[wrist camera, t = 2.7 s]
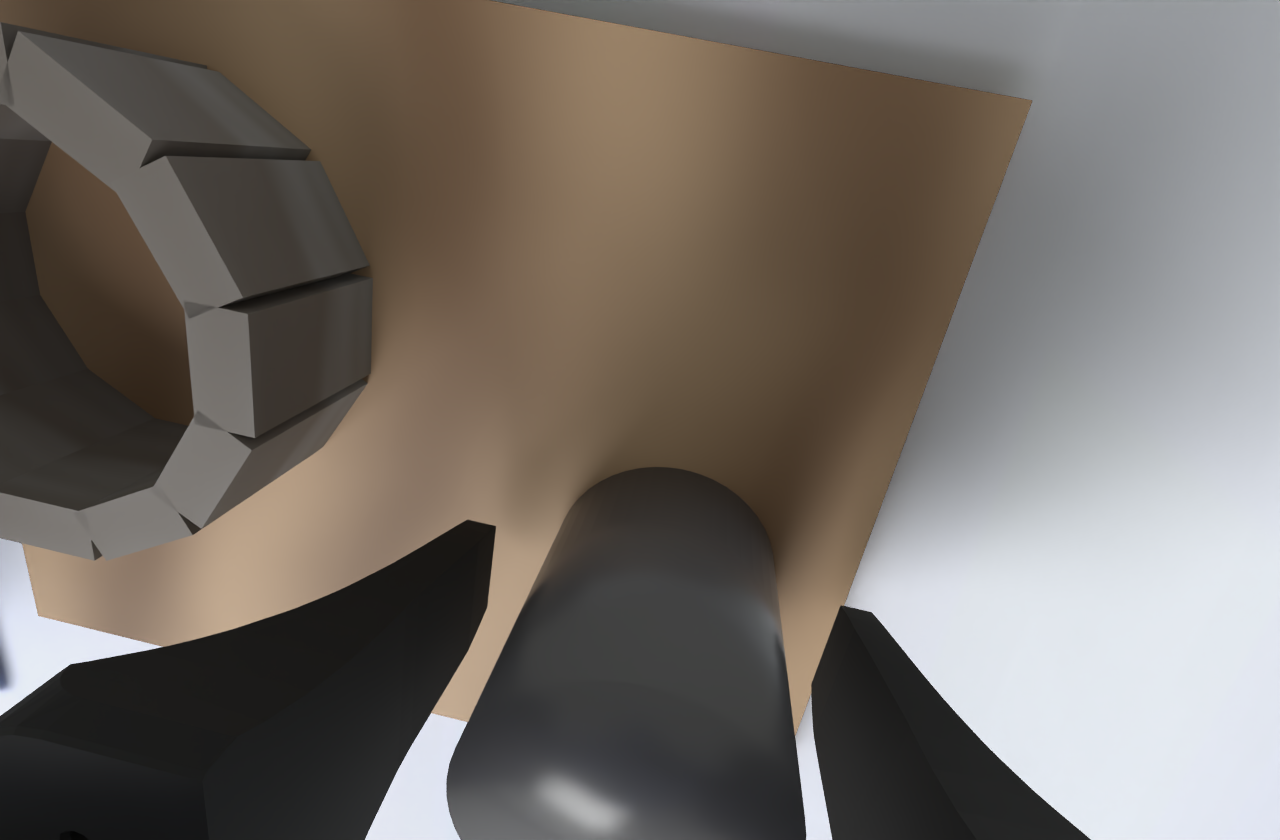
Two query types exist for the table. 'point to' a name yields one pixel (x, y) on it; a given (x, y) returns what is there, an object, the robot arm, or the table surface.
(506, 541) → the barrel mount
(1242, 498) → the table surface
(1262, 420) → the table surface
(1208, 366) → the table surface
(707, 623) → the dark gray cylinder
